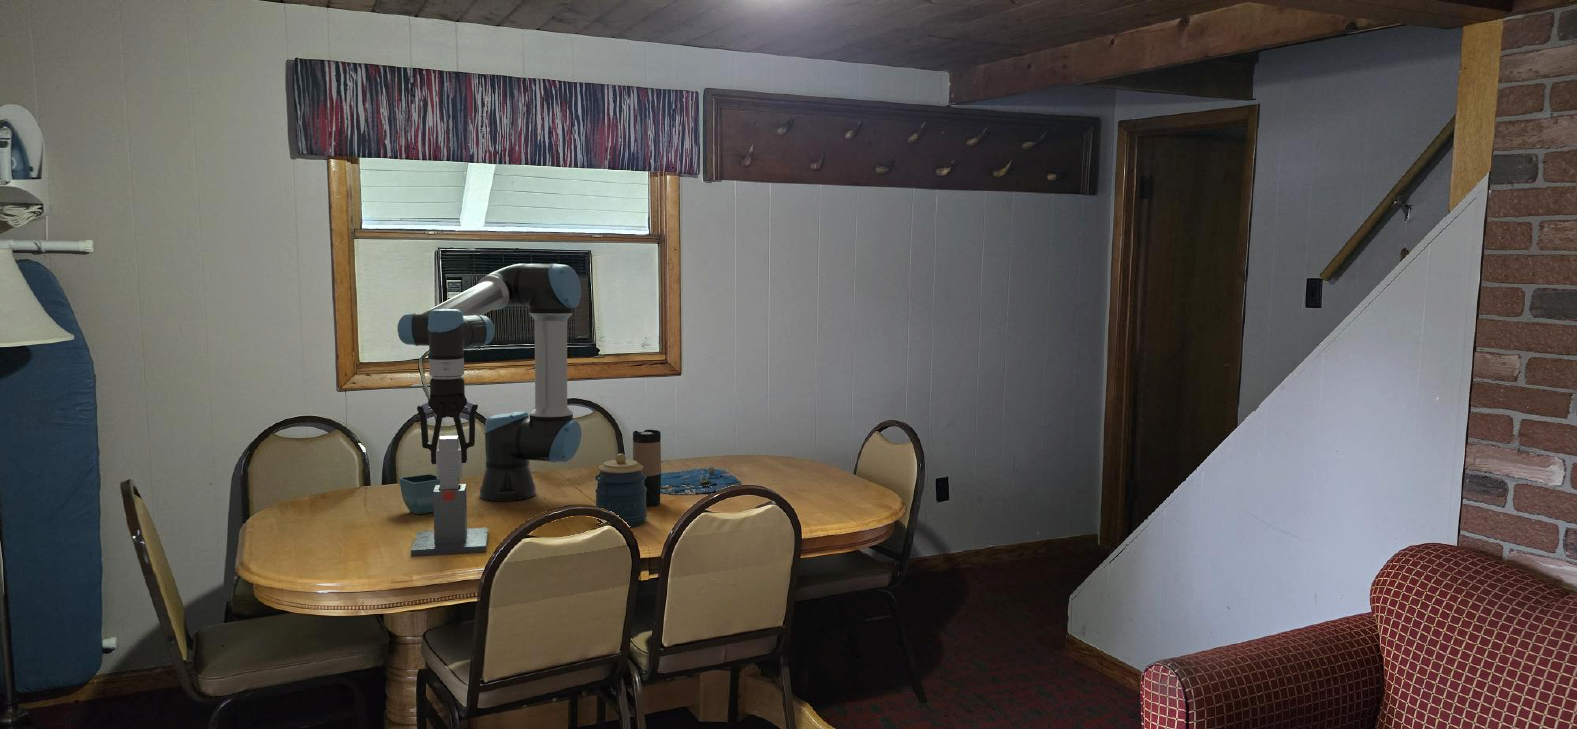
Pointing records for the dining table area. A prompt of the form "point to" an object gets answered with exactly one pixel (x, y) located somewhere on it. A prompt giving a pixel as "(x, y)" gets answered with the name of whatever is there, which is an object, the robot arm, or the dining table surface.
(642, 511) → the canister
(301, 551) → the dining table surface
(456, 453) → the stand post
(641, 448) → the travel mug
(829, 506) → the dining table surface
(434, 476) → the flower pot
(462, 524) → the jack stand base
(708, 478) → the ocean terrain model
